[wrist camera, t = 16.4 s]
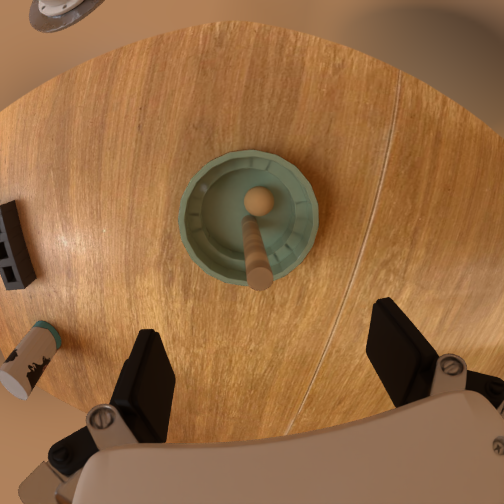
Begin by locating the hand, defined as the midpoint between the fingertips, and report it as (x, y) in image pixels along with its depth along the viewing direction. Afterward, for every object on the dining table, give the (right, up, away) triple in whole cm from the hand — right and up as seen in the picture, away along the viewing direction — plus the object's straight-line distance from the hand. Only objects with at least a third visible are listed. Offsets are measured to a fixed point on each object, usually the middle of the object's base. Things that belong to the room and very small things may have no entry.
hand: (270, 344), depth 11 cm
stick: (-1, +8, +25) cm, 26 cm away
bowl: (-1, +9, +25) cm, 26 cm away
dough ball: (0, +10, +22) cm, 24 cm away
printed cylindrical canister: (-40, -12, +31) cm, 52 cm away
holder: (-41, +5, +23) cm, 48 cm away
